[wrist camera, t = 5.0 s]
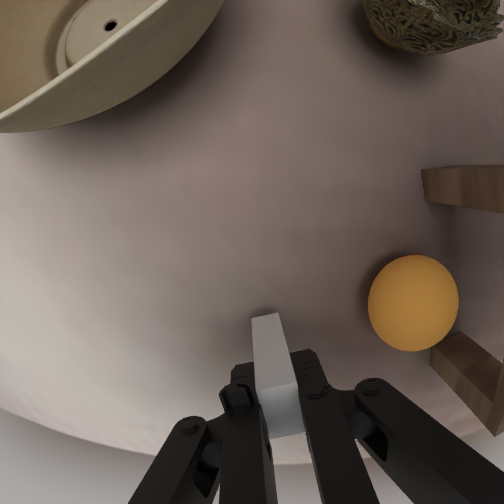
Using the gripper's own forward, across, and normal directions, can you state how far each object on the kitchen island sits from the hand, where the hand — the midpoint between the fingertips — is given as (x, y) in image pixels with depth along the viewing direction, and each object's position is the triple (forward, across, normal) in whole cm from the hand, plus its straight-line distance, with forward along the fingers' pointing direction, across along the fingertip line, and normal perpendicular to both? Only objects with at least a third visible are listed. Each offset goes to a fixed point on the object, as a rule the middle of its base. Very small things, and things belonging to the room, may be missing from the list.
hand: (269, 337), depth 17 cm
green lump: (+2, -12, -17) cm, 21 cm away
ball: (-1, -8, 0) cm, 8 cm away
